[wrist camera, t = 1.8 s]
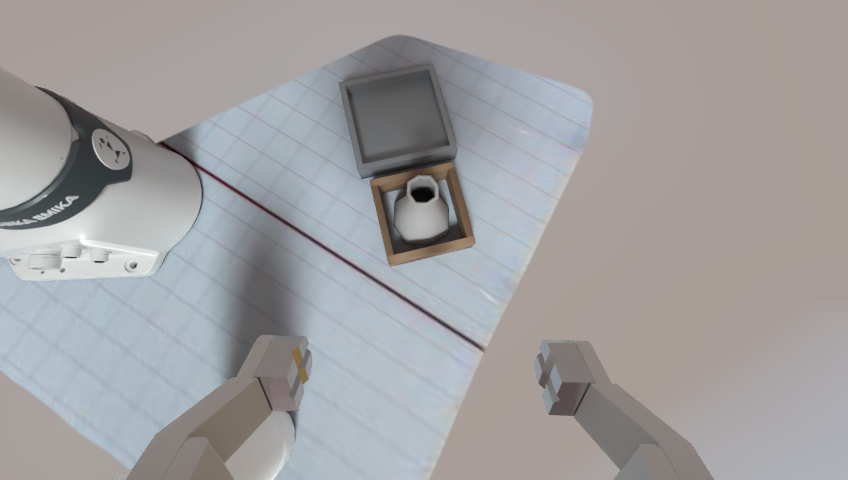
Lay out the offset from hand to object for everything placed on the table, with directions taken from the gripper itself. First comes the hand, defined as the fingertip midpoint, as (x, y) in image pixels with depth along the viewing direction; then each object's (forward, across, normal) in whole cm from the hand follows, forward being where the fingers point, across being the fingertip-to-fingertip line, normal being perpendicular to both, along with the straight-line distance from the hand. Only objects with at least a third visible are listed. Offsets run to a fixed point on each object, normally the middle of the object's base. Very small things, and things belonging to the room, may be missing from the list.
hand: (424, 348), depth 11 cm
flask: (+28, 0, +11) cm, 30 cm away
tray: (+37, +4, +2) cm, 37 cm away
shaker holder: (+28, 0, +11) cm, 30 cm away
